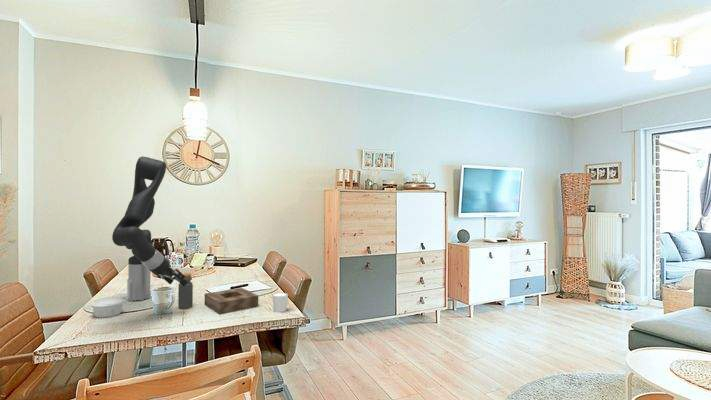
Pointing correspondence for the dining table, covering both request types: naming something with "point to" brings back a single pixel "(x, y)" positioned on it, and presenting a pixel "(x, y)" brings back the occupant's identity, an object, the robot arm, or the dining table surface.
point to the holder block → (231, 300)
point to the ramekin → (107, 307)
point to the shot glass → (280, 302)
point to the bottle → (185, 293)
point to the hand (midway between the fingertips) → (178, 283)
